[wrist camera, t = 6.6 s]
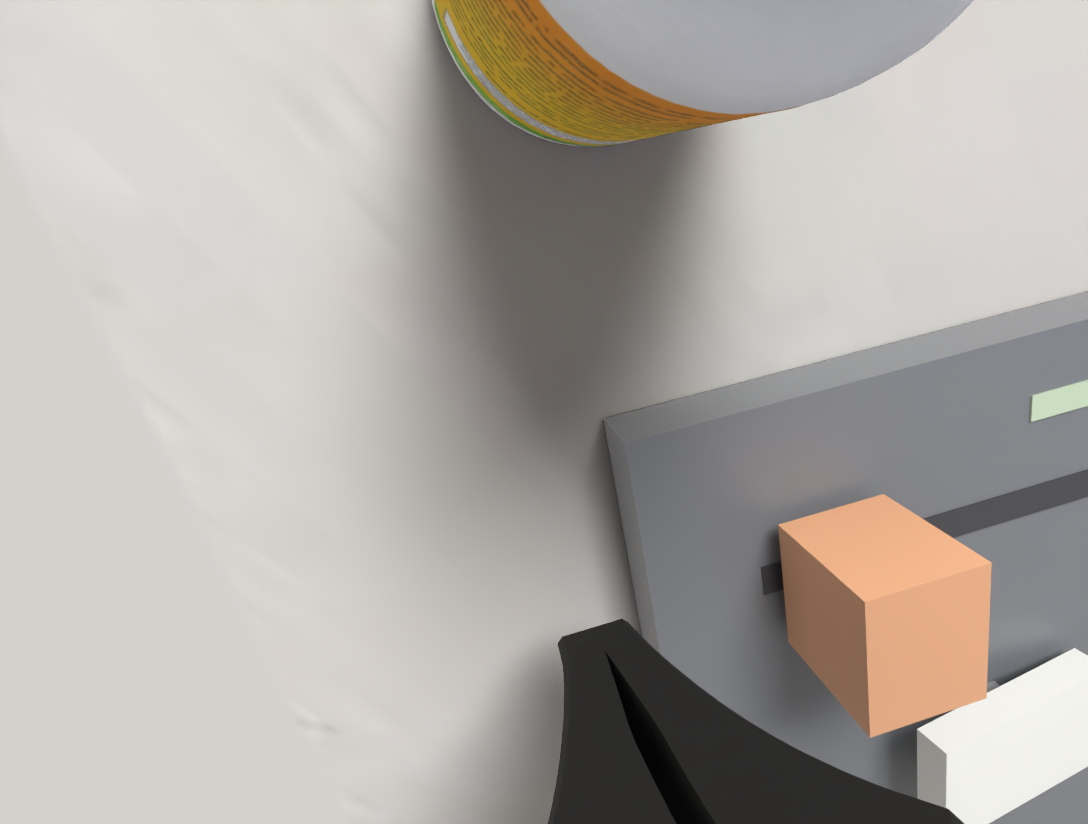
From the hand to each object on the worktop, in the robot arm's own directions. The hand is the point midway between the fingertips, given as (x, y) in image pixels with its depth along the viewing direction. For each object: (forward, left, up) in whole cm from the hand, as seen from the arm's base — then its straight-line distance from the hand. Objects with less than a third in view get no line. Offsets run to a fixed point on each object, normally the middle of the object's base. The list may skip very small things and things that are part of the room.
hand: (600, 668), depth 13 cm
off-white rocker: (-10, +6, 0) cm, 11 cm away
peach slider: (-6, 0, -1) cm, 6 cm away
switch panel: (-10, +6, -3) cm, 11 cm away
